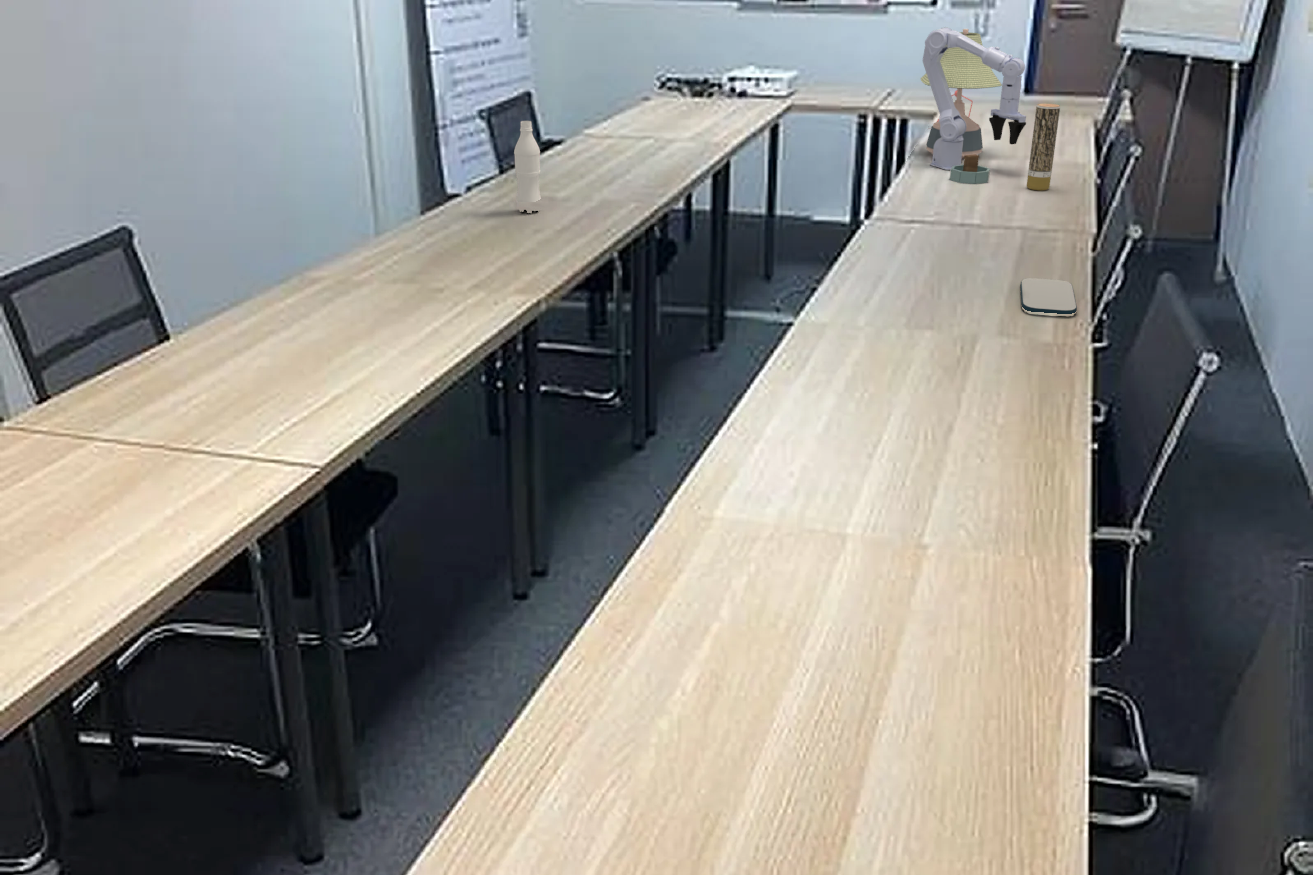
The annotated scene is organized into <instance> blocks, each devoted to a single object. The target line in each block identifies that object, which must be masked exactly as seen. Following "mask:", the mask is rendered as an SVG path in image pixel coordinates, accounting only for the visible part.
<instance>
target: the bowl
mask: <svg viewBox="0 0 1313 875" xmlns="http://www.w3.org/2000/svg"><path fill="white" fill-rule="evenodd" d="M963 166H964V164H961V165H956V166H952V168H951V170H950V172H949V173H950V174H949V181H952V182H956V183H958V184H970V185H971V184H972V185H978V184H988V182H989V181H990V175H991V174H990V173H991V168H990V167H987V166H983V165H980V164H978V169H977V172H966V171H963Z"/></svg>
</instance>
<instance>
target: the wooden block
mask: <svg viewBox="0 0 1313 875" xmlns="http://www.w3.org/2000/svg"><path fill="white" fill-rule="evenodd" d="M979 158H980V156H979V154H977V155H975V154H974V155H965V156H964V159H963V165H964V166H963V171H966V172H977V169H978V165H979V161H980V160H979Z"/></svg>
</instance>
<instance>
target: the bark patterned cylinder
mask: <svg viewBox="0 0 1313 875" xmlns="http://www.w3.org/2000/svg"><path fill="white" fill-rule="evenodd" d="M1060 112H1061V105H1060V104H1056V103H1055V104H1054V103H1037V104H1036V108H1035V117H1034V122H1033V131H1032V138H1031V146H1030V147H1031V148H1030V155H1029V162H1028V163H1029V164H1028V170H1027V179H1026V188H1027V189H1028V190H1031V191H1041V192H1043V191H1047V190H1049V189H1050V187H1051V186H1050V185H1051V180H1052V179H1051V178H1052V172H1053V164H1054V159H1055V158H1054V157H1055V156H1054V155H1055V151H1056V150H1055V148H1056V142H1057V135H1058V134H1057V133H1058V126H1059V119H1060Z"/></svg>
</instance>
